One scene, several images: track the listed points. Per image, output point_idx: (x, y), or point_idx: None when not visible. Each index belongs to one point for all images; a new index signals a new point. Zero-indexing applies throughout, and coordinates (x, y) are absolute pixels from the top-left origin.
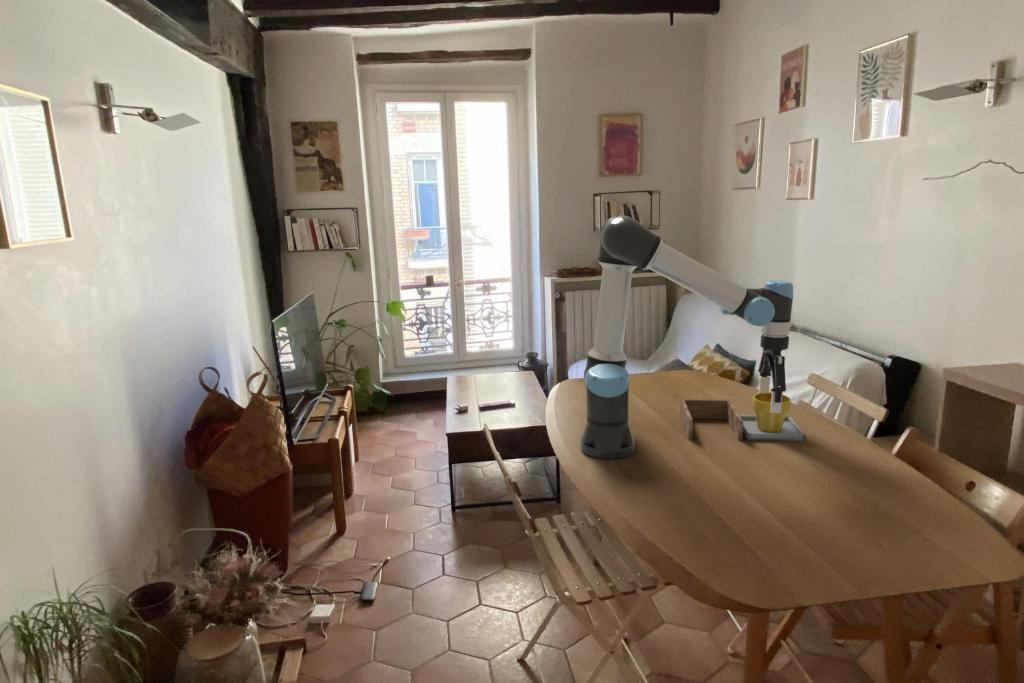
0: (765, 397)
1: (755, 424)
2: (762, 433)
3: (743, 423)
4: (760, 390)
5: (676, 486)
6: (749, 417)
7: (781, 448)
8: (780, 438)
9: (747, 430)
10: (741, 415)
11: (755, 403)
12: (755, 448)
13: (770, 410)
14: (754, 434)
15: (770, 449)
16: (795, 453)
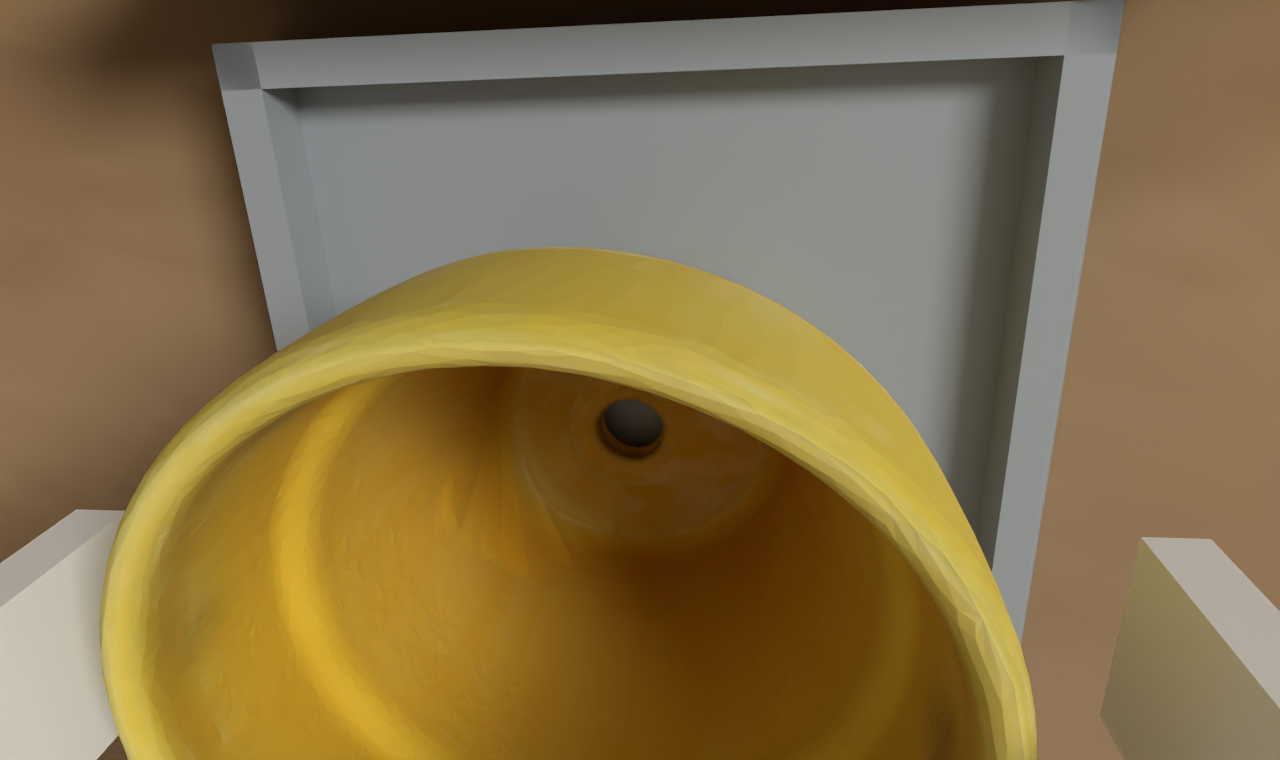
0: (943, 665)
1: (803, 266)
2: (278, 259)
3: (668, 49)
4: (1252, 704)
5: None
6: (1032, 225)
7: (129, 391)
8: None
9: (350, 57)
10: (1097, 90)
11: (353, 309)
12: (26, 92)
13: (97, 528)
14: (235, 139)
15: (59, 267)
16: (43, 485)
